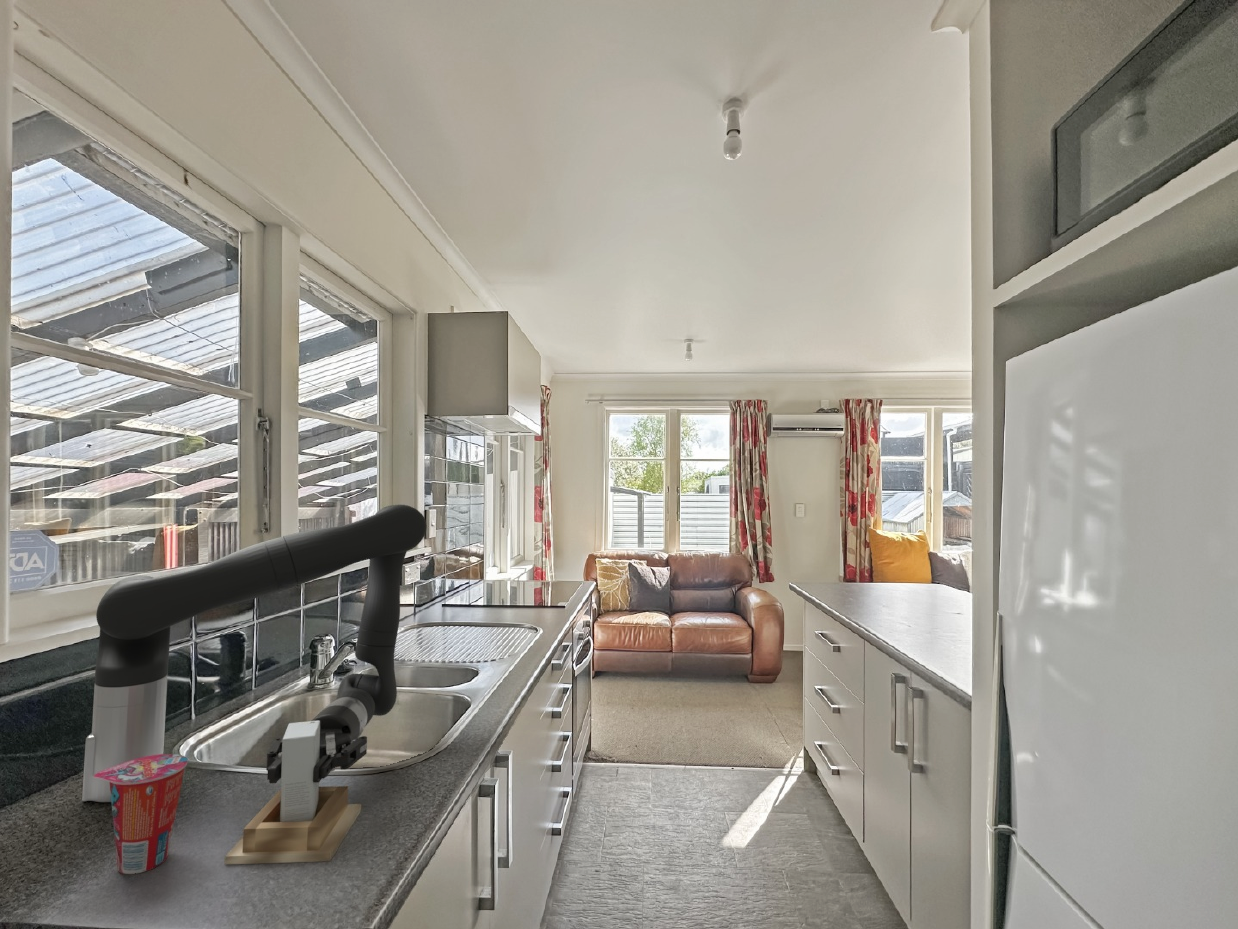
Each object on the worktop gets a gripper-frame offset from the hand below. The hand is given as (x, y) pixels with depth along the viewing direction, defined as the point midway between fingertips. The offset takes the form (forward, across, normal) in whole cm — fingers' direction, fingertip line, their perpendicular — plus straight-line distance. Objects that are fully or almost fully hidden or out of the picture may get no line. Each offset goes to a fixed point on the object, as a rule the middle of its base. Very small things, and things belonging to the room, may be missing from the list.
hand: (294, 775), depth 86 cm
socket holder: (-2, 0, +9) cm, 10 cm away
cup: (+3, -17, +9) cm, 20 cm away
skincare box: (-3, 0, +7) cm, 7 cm away
